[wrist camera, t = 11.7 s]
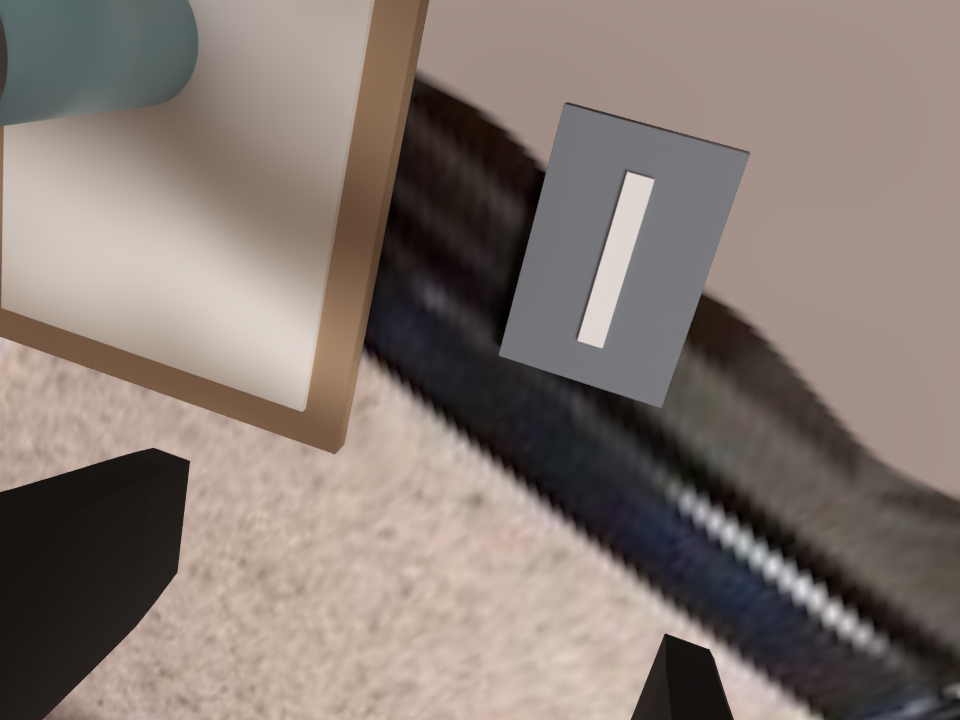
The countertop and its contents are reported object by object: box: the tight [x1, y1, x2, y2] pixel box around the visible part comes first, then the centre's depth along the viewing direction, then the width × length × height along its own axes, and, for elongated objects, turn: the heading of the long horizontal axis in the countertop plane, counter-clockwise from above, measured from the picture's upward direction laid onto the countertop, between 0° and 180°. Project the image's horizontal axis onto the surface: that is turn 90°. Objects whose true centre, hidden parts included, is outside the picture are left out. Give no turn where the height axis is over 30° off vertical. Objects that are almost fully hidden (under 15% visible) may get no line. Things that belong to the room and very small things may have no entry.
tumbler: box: [0, 0, 198, 126], centre depth 18 cm, size 3×3×7 cm
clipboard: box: [0, 0, 429, 454], centre depth 22 cm, size 14×11×1 cm
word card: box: [499, 102, 750, 408], centre depth 20 cm, size 6×4×1 cm, turn 167°
